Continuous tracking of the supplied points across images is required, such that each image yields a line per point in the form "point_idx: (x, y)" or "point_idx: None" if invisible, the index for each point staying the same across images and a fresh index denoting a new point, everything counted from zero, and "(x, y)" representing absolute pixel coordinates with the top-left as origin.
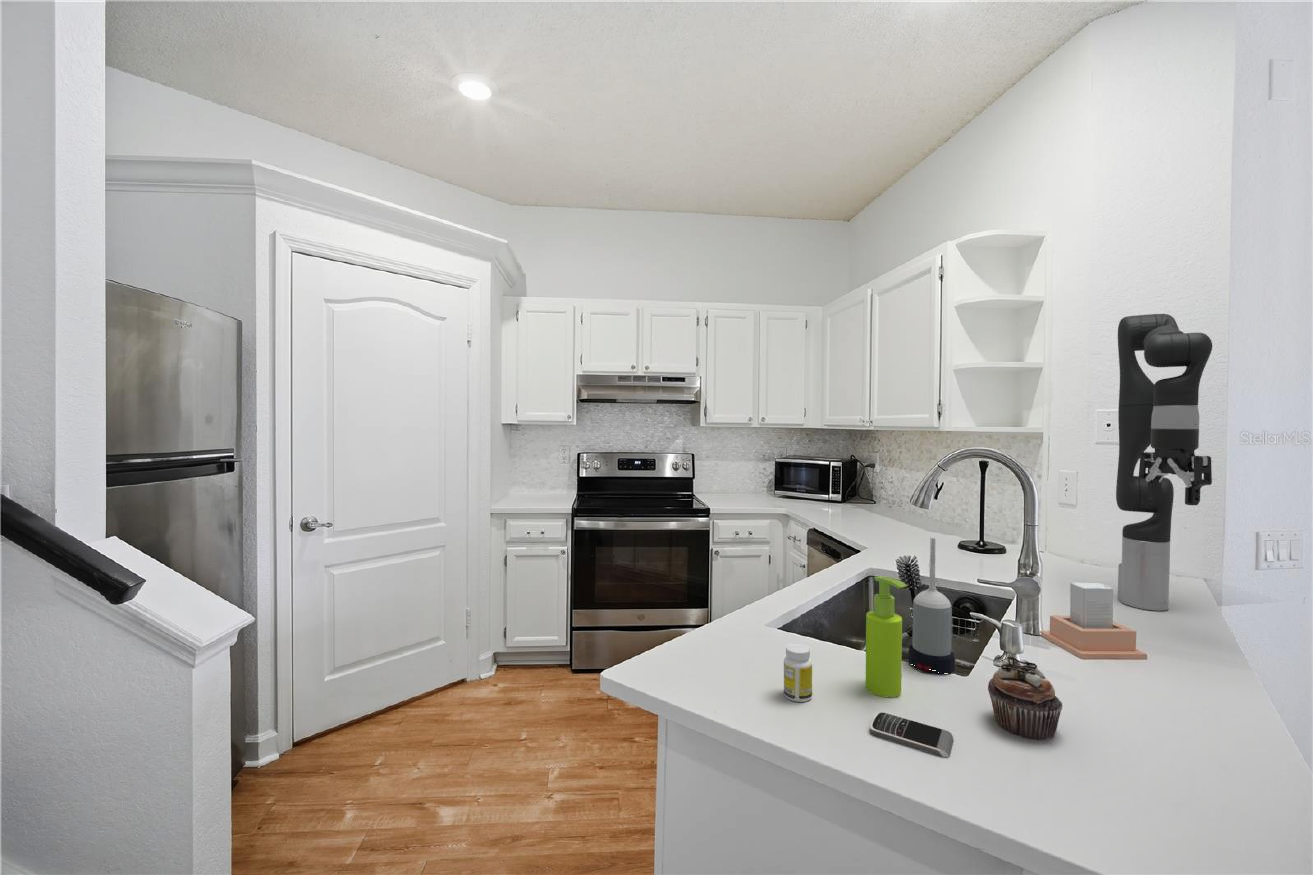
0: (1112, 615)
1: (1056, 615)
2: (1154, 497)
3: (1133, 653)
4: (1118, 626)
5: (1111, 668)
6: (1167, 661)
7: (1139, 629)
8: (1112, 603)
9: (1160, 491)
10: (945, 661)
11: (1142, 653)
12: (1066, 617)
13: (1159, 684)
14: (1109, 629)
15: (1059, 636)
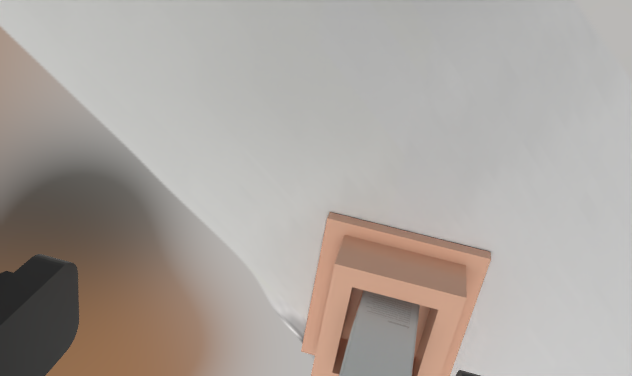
0: (415, 340)
1: (313, 368)
2: (68, 324)
3: (477, 286)
4: (422, 304)
5: (503, 373)
6: (517, 217)
7: (307, 41)
8: (412, 367)
9: (20, 312)
10: None
11: (484, 266)
12: (331, 360)
13: (601, 362)
14: (434, 346)
15: None
